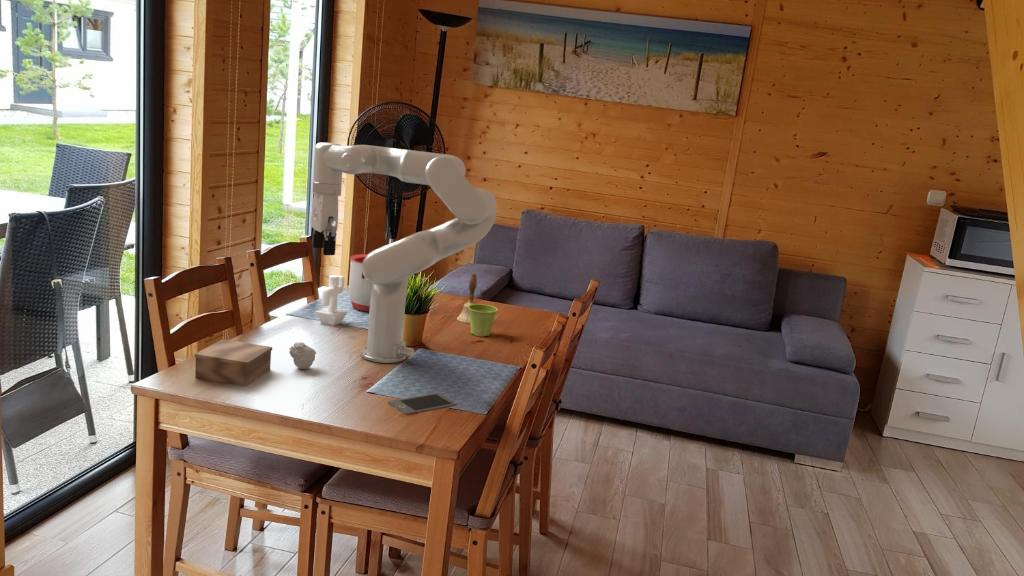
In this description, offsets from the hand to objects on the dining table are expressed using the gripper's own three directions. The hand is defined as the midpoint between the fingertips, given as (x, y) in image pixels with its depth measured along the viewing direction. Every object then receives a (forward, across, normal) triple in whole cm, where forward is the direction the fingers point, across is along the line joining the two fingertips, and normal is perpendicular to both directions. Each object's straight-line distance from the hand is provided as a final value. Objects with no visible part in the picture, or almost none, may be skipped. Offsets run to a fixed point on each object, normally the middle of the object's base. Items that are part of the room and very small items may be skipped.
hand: (323, 251), depth 224 cm
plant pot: (+28, -4, +53) cm, 60 cm away
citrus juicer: (+27, -36, +28) cm, 53 cm away
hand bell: (+28, -19, +57) cm, 66 cm away
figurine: (+27, -21, +10) cm, 36 cm away
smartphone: (+28, +48, +12) cm, 56 cm away
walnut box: (+27, +19, -27) cm, 42 cm away
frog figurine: (+27, +18, -10) cm, 34 cm away
